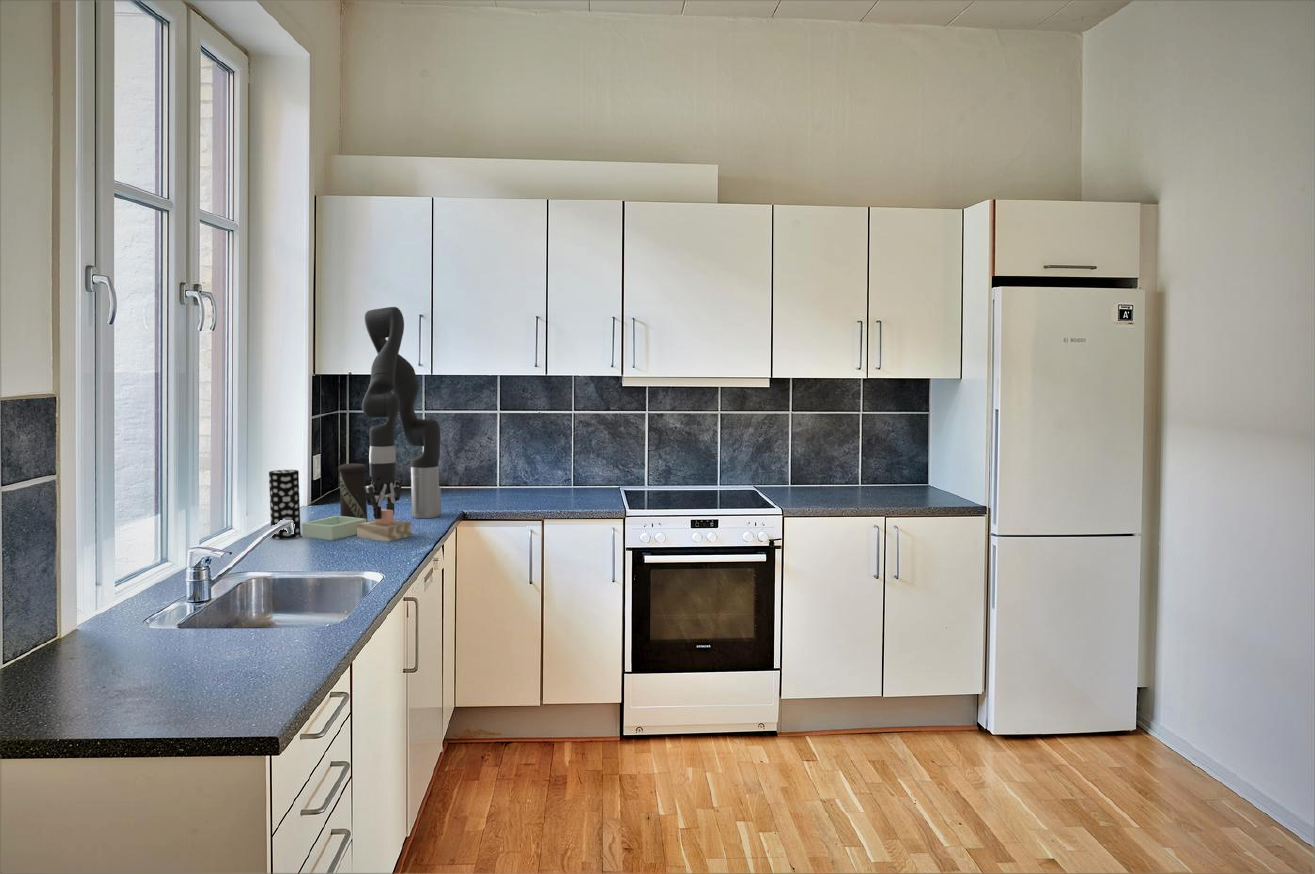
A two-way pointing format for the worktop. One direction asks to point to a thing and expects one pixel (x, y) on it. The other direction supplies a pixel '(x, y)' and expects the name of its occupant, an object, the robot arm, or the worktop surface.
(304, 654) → the worktop surface
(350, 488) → the container
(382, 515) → the salmon orange block
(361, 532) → the brown hollow flat block
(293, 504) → the spotted tube
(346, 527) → the bin
